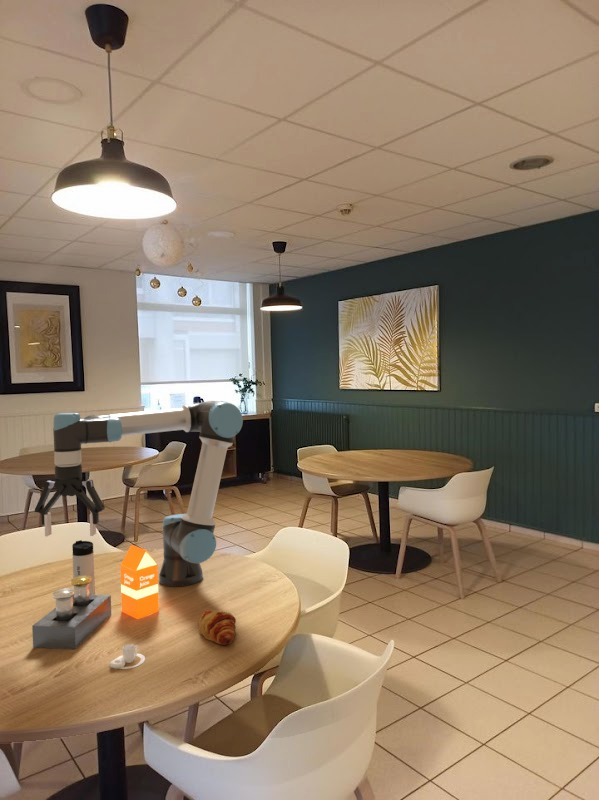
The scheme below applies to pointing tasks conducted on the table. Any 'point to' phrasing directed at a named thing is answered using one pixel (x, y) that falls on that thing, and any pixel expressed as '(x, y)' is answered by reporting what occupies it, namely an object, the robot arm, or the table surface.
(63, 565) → the table surface
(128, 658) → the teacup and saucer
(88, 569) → the travel mug
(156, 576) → the orange juice
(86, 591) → the knob
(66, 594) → the knob
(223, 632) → the croissant
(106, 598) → the mount
